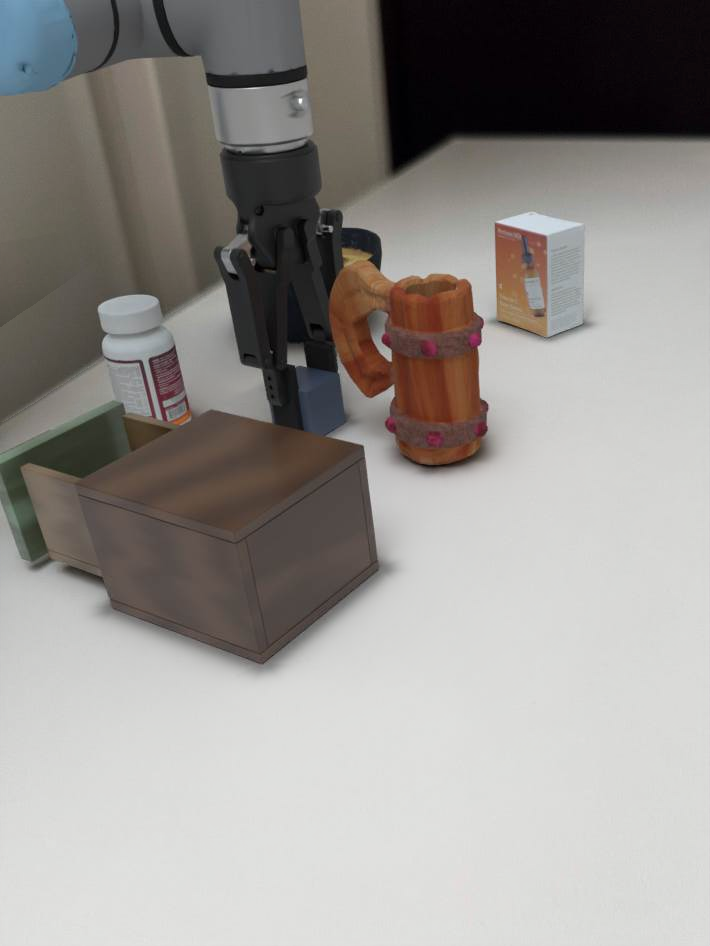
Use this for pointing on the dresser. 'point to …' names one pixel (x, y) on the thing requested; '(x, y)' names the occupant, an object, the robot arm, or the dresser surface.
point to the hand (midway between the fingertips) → (309, 423)
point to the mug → (415, 357)
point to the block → (319, 400)
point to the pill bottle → (143, 359)
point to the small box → (540, 273)
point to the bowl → (354, 249)
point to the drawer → (66, 480)
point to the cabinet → (232, 530)
